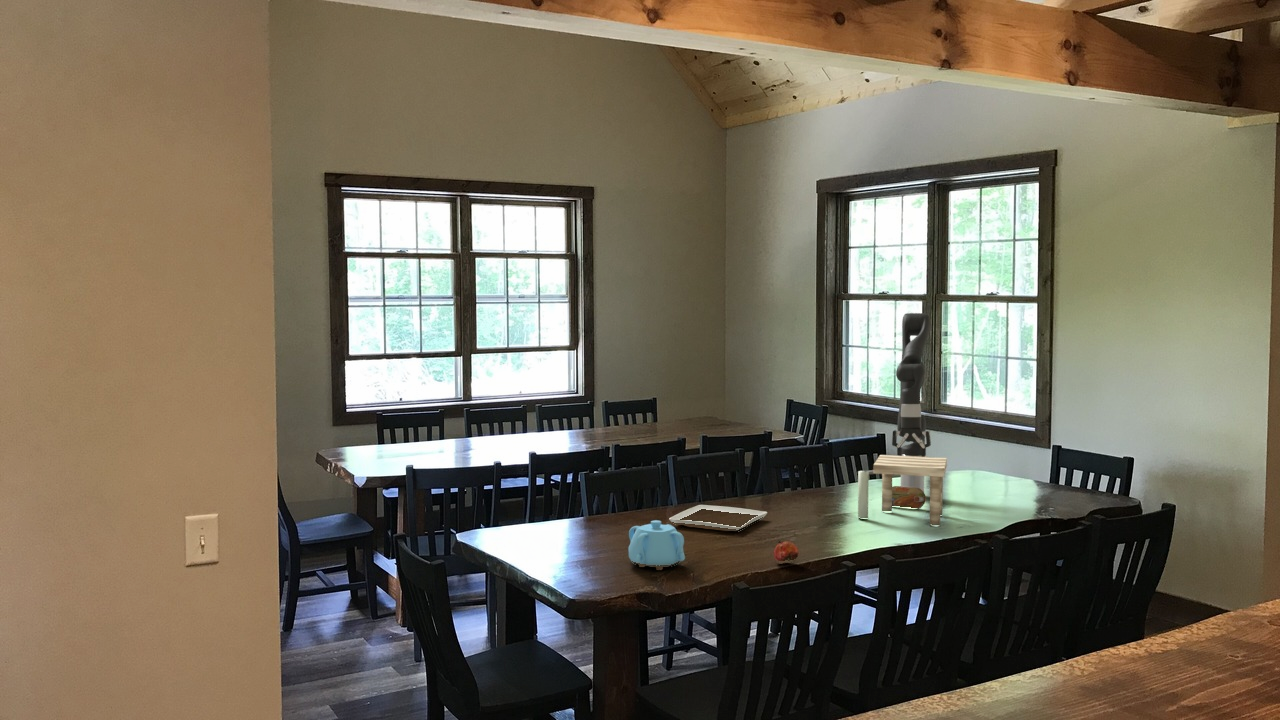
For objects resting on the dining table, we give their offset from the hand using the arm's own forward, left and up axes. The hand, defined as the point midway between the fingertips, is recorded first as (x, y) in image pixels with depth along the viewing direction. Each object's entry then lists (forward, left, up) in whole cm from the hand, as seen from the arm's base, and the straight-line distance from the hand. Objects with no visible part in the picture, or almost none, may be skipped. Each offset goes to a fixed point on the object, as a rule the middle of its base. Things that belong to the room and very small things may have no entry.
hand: (911, 457), depth 397 cm
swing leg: (+30, -11, -18) cm, 37 cm away
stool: (+27, +2, -18) cm, 33 cm away
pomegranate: (+103, -29, -18) cm, 109 cm away
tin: (+8, -1, -18) cm, 20 cm away
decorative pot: (+116, -66, -18) cm, 135 cm away
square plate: (+55, -62, -19) cm, 86 cm away
